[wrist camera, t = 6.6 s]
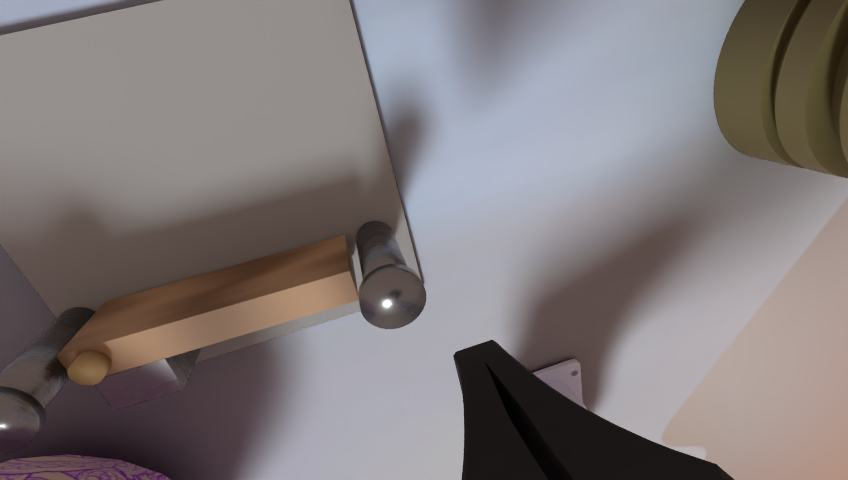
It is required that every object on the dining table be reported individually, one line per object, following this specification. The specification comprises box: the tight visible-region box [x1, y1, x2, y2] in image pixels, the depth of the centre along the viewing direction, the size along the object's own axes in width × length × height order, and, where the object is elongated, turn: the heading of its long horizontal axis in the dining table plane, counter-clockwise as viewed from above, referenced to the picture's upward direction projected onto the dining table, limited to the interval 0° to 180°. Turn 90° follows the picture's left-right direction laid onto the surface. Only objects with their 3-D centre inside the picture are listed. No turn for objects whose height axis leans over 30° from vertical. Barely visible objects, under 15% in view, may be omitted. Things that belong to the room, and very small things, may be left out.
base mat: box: [0, 0, 421, 363], centre depth 19 cm, size 16×17×1 cm
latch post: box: [0, 307, 202, 455], centre depth 18 cm, size 4×6×7 cm
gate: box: [56, 235, 359, 385], centre depth 18 cm, size 12×2×5 cm, turn 102°
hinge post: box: [356, 221, 426, 329], centre depth 19 cm, size 3×3×7 cm
